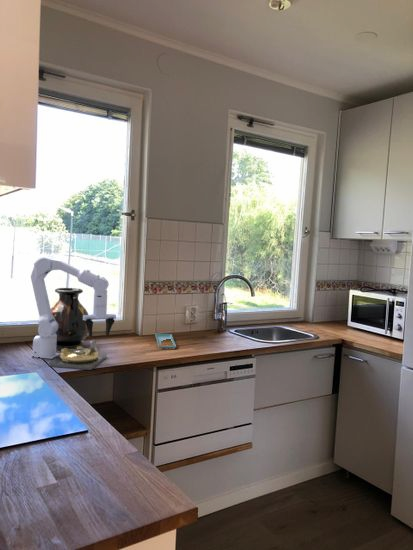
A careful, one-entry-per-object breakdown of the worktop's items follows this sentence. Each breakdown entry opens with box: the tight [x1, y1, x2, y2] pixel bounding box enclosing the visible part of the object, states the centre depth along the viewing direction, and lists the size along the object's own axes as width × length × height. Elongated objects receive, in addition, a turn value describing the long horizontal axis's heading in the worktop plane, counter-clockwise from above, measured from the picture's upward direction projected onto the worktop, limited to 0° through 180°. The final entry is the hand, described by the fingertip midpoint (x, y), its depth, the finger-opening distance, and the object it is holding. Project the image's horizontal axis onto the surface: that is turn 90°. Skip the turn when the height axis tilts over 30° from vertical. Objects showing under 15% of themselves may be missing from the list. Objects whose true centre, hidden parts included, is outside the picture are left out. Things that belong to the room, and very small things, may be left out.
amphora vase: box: [50, 287, 90, 351], centre depth 215 cm, size 22×22×28 cm
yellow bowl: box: [59, 339, 99, 363], centre depth 192 cm, size 16×16×7 cm
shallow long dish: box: [155, 333, 177, 349], centre depth 235 cm, size 26×9×2 cm, turn 10°
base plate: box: [48, 352, 108, 371], centre depth 192 cm, size 18×20×2 cm
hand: (98, 335), depth 198 cm, fingers open, 7 cm apart
